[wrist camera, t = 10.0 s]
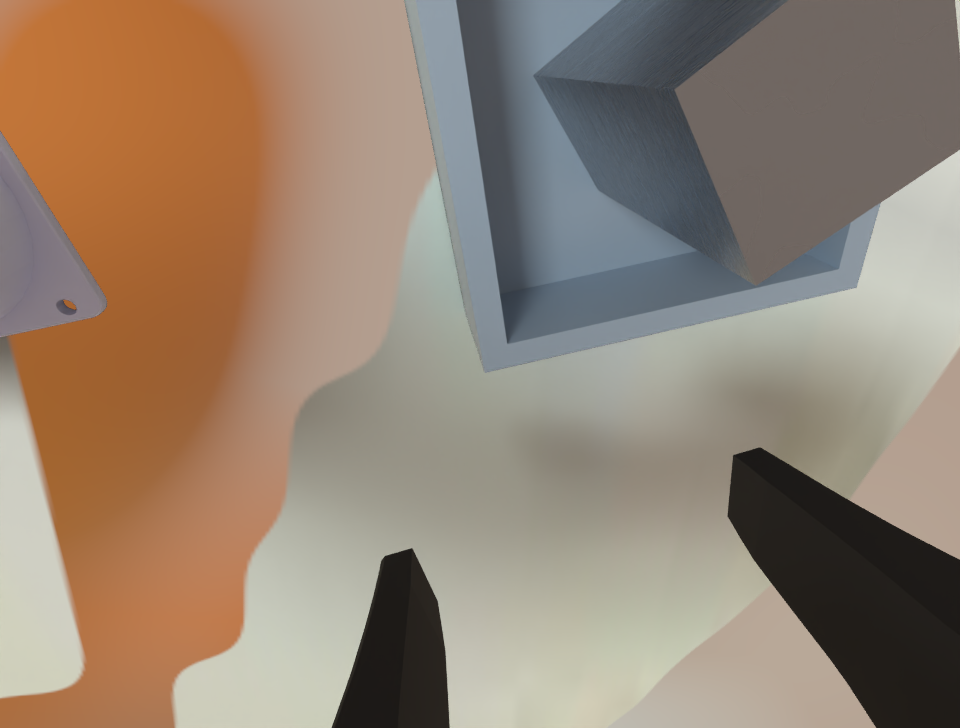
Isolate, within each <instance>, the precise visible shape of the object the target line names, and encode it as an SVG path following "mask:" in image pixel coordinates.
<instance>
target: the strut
mask: <svg viewBox="0 0 960 728" xmlns="http://www.w3.org/2000/svg"><path fill="white" fill-rule="evenodd" d="M533 76H534V78H535V80H536V82H537V83H538V85H539V87H540V89H541V91H542V92H543V94H544V96H545V98H546V99H547V101H548V103H549V105H550V106H551V108H552V110H553V112H554V113H555V115H556V117H557V119H558V120H559V122H560V124H561V126H562V128H563V129H564V131H565V133H566V135H567V136H568V138H569V140H570V142H571V143H572V145H573V147H574V149H575V150H576V152H577V154H578V156H579V157H580V159H581V161H582V163H583V165H584V166H585V168H586V170H587V172H588V173H589V175H590V177H591V179H592V180H593V182H594V184H595V186H596V187H597V189H598V191H600V192H602V193H603V194H605V195H607V196H608V197H610V198H611V199H613V200H615V201H616V202H618V203H620V204H621V205H623V206H625V207H626V208H628V209H630V210H631V211H633V212H635V213H636V214H638V215H640V216H641V217H643V218H645V219H646V220H648V221H650V222H651V223H653V224H655V225H656V226H658V227H660V228H661V229H663V230H664V231H666V232H668V233H669V234H671V235H673V236H674V237H676V238H678V239H679V240H681V241H683V242H684V243H686V244H688V245H689V246H691V247H693V248H694V249H696V250H698V251H699V252H701V253H703V254H704V255H706V256H708V257H709V258H711V259H713V260H714V261H716V262H717V263H719V264H721V265H722V266H724V267H726V268H727V269H729V270H731V271H732V272H734V273H736V274H737V275H739V276H741V277H742V278H744V279H746V280H747V281H749V282H751V283H752V284H754V285H756V286H757V285H758V284H760V283H761V282H763V281H764V280H765V279H767V278H768V277H770V276H771V275H773V274H774V273H776V272H777V271H779V270H780V269H782V268H783V267H785V266H786V265H788V264H789V263H791V262H792V261H794V260H795V259H797V258H798V257H800V256H801V255H803V254H804V253H806V252H807V251H809V250H810V249H812V248H813V247H815V246H816V245H818V244H819V243H821V242H822V241H824V240H825V239H827V238H828V237H830V236H831V235H833V234H834V233H836V232H837V231H839V230H840V229H842V228H843V227H845V226H846V225H848V224H849V223H851V222H852V221H854V220H855V219H857V218H858V217H860V216H861V215H863V214H864V213H866V212H867V211H869V210H870V209H872V208H873V207H875V206H876V205H878V204H879V203H881V202H882V201H884V200H885V199H887V198H888V197H890V196H891V195H893V194H894V193H896V192H897V191H899V190H900V189H902V188H903V187H905V186H906V185H908V184H909V183H911V182H912V181H914V180H915V179H916V178H918V177H919V176H921V175H922V174H924V173H925V172H927V171H928V170H930V169H931V168H933V167H934V166H936V165H937V164H939V163H940V162H942V161H943V160H945V159H946V158H948V157H949V156H951V155H952V154H954V153H955V152H957V151H958V150H960V52H959V41H958V30H957V19H956V8H955V0H621V1H620V2H619V3H618V4H617V5H615V6H614V7H613V8H612V9H611V10H610V11H608V12H607V13H606V14H605V15H604V16H602V17H601V18H600V19H599V20H598V21H597V22H595V23H594V24H593V25H592V26H591V27H589V28H588V29H587V30H586V31H585V32H584V33H582V34H581V35H580V36H579V37H578V38H576V39H575V40H574V41H573V42H572V43H571V44H569V45H568V46H567V47H566V48H565V49H563V50H562V51H561V52H560V53H559V54H558V55H556V56H555V57H554V58H553V59H552V60H550V61H549V62H548V63H547V64H546V65H545V66H543V67H542V68H541V69H540V70H539V71H537V72H536V73H535V74H534V75H533Z"/></svg>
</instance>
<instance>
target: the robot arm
mask: <svg viewBox="0 0 960 728" xmlns="http://www.w3.org/2000/svg"><path fill="white" fill-rule="evenodd" d="M63 300H68V301H71V302H72V303H73V304H74V305H75V306H76V309H77V310H73V309H71V308H68V307H67V306H66V305H65V304H64V301H63ZM106 307H107V300H106V297H105V295H104V293H103V292H102V291H101V289H100V287H99V285H98V284H97V282H96V281H95V279H94V278H93V276H92V275H91V273H90V271H89V270H88V268H87V267H86V265H85V263H84V262H83V260H82V259H81V257H80V256H79V254H78V253H77V251H76V249H75V248H74V246H73V244H72V243H71V241H70V240H69V238H68V237H67V235H66V233H65V232H64V230H63V229H62V227H61V226H60V224H59V222H58V221H57V219H56V218H55V216H54V215H53V213H52V211H51V210H50V208H49V207H48V205H47V203H46V202H45V201H44V199H43V197H42V196H41V194H40V192H39V191H38V189H37V188H36V186H35V185H34V183H33V181H32V180H31V178H30V177H29V175H28V174H27V172H26V170H25V169H24V167H23V166H22V164H21V162H20V161H19V159H18V158H17V156H16V155H15V153H14V151H13V150H12V148H11V147H10V145H9V144H8V142H7V140H6V139H5V137H4V136H3V134H2V133H1V131H0V337H4V336H9V335H13V334H18V333H23V332H27V331H32V330H37V329H41V328H46V327H51V326H56V325H60V324H65V323H69V322H74V321H79V320H84V319H88V318H93V317H96V316H98V315H100V314H101V313H102V312H103V311H104V310H105V308H106ZM728 518H729V519H730V521H731V523H732V525H733V526H734V528H735V530H736V531H737V533H738V535H739V536H740V538H741V540H742V542H743V543H744V545H745V546H746V548H747V550H748V551H749V553H750V554H751V556H752V558H753V559H754V561H755V562H756V563H757V565H758V566H759V567H760V569H761V570H762V571H763V573H764V574H765V575H766V577H767V578H768V579H769V581H770V582H771V583H772V584H773V586H774V587H775V588H776V590H777V591H778V592H779V594H780V595H781V596H782V598H783V599H784V600H785V601H786V603H787V604H788V605H789V606H790V608H791V609H792V611H793V612H794V613H795V614H796V616H797V617H798V618H799V619H800V621H801V622H802V623H803V625H804V626H805V627H806V629H807V630H808V631H809V632H810V634H811V635H812V636H813V638H814V639H815V640H816V642H817V643H818V644H819V645H820V647H821V648H822V649H823V650H824V652H825V653H826V655H827V656H828V657H829V658H830V660H831V661H832V662H833V664H834V665H835V667H836V668H837V669H838V671H839V672H840V674H841V675H842V676H843V678H844V679H845V681H846V682H847V683H848V685H849V686H850V688H851V689H852V691H853V693H854V694H855V696H856V697H857V699H858V700H859V702H860V703H861V705H862V706H863V708H864V710H865V711H866V713H867V714H868V716H869V717H870V719H871V720H872V722H873V723H874V725H875V726H876V728H960V560H959V559H957V558H955V557H953V556H951V555H949V554H947V553H945V552H943V551H941V550H939V549H937V548H936V547H934V546H932V545H930V544H928V543H926V542H924V541H922V540H920V539H918V538H916V537H914V536H912V535H910V534H908V533H906V532H905V531H903V530H901V529H899V528H897V527H896V526H894V525H892V524H890V523H888V522H886V521H885V520H883V519H881V518H879V517H877V516H876V515H874V514H872V513H870V512H869V511H867V510H865V509H863V508H861V507H860V506H858V505H856V504H854V503H853V502H851V501H849V500H848V499H846V498H844V497H842V496H841V495H839V494H837V493H836V492H834V491H832V490H830V489H829V488H827V487H825V486H824V485H822V484H820V483H819V482H817V481H815V480H814V479H812V478H810V477H809V476H807V475H805V474H804V473H802V472H800V471H799V470H797V469H795V468H794V467H792V466H790V465H789V464H787V463H785V462H784V461H782V460H780V459H779V458H777V457H775V456H774V455H772V454H770V453H769V452H767V451H765V450H764V449H762V448H756V449H753V450H749V451H746V452H743V453H739V454H736V455H733V464H732V474H731V485H730V496H729V506H728ZM332 728H450V727H449V708H448V689H447V671H446V655H445V646H444V639H443V632H442V626H441V619H440V613H439V607H438V601H437V599H436V597H435V595H434V593H433V590H432V588H431V586H430V584H429V582H428V580H427V578H426V576H425V574H424V572H423V570H422V567H421V565H420V563H419V561H418V559H417V557H416V555H415V553H414V551H413V549H412V548H411V549H408V550H404V551H401V552H398V553H394V554H391V555H387V556H385V557H384V558H383V559H382V561H381V565H380V570H379V575H378V579H377V583H376V588H375V592H374V596H373V600H372V603H371V607H370V611H369V615H368V618H367V622H366V625H365V629H364V632H363V636H362V639H361V642H360V645H359V649H358V652H357V655H356V658H355V662H354V665H353V668H352V671H351V674H350V677H349V680H348V683H347V686H346V689H345V692H344V695H343V697H342V700H341V703H340V706H339V709H338V711H337V714H336V717H335V720H334V723H333V726H332Z"/></svg>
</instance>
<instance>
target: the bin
mask: <svg viewBox="0 0 960 728" xmlns="http://www.w3.org/2000/svg"><path fill="white" fill-rule="evenodd" d="M620 1H621V0H404V2H405V7H406V12H407V17H408V22H409V27H410V32H411V37H412V42H413V47H414V53H415V57H416V63H417V68H418V73H419V78H420V83H421V88H422V93H423V99H424V104H425V108H426V114H427V119H428V124H429V129H430V134H431V139H432V145H433V150H434V155H435V160H436V165H437V170H438V175H439V180H440V185H441V191H442V196H443V201H444V206H445V211H446V216H447V221H448V226H449V231H450V237H451V242H452V247H453V252H454V257H455V262H456V267H457V272H458V277H459V283H460V288H461V293H462V298H463V303H464V308H465V313H466V317H467V320H468V323H469V326H470V329H471V332H472V335H473V338H474V341H475V344H476V347H477V350H478V353H479V356H480V360H481V363H482V366H483V369H484V372H485V373H486V372H490V371H494V370H499V369H503V368H507V367H512V366H516V365H521V364H525V363H529V362H534V361H538V360H542V359H547V358H551V357H555V356H560V355H564V354H569V353H573V352H577V351H582V350H586V349H590V348H595V347H599V346H603V345H608V344H612V343H617V342H621V341H625V340H630V339H634V338H638V337H643V336H647V335H652V334H656V333H660V332H665V331H669V330H673V329H678V328H682V327H686V326H691V325H695V324H700V323H704V322H708V321H713V320H717V319H721V318H726V317H730V316H734V315H739V314H743V313H748V312H752V311H756V310H761V309H765V308H769V307H774V306H778V305H782V304H787V303H791V302H796V301H800V300H804V299H809V298H813V297H817V296H822V295H826V294H831V293H835V292H839V291H844V290H848V289H852V288H856V287H857V284H858V280H859V277H860V273H861V270H862V266H863V263H864V259H865V256H866V252H867V249H868V245H869V242H870V238H871V235H872V231H873V228H874V224H875V221H876V217H877V214H878V210H879V207H880V203H879V204H878V205H876V206H875V207H873V208H872V209H870V210H869V211H867V212H866V213H864V214H863V215H861V216H860V217H858V218H857V219H855V220H854V221H852V222H851V223H849V224H848V225H846V226H845V227H843V228H842V229H840V230H839V231H837V232H836V233H834V234H833V235H831V236H830V237H828V238H827V239H825V240H824V241H822V242H821V243H819V244H818V245H816V246H815V247H813V248H812V249H810V250H809V251H807V252H806V253H804V254H803V255H801V256H800V257H798V258H797V259H795V260H794V261H792V262H791V263H789V264H788V265H786V266H785V267H783V268H782V269H780V270H779V271H777V272H776V273H774V274H773V275H771V276H770V277H768V278H767V279H765V280H764V281H763V282H761V283H760V284H758V285H757V286H756V285H754V284H752V283H751V282H749V281H747V280H746V279H744V278H742V277H741V276H739V275H737V274H736V273H734V272H732V271H731V270H729V269H727V268H726V267H724V266H722V265H721V264H719V263H717V262H716V261H714V260H713V259H711V258H709V257H708V256H706V255H704V254H703V253H701V252H699V251H698V250H696V249H694V248H693V247H691V246H689V245H688V244H686V243H684V242H683V241H681V240H679V239H678V238H676V237H674V236H673V235H671V234H669V233H668V232H666V231H664V230H663V229H661V228H660V227H658V226H656V225H655V224H653V223H651V222H650V221H648V220H646V219H645V218H643V217H641V216H640V215H638V214H636V213H635V212H633V211H631V210H630V209H628V208H626V207H625V206H623V205H621V204H620V203H618V202H616V201H615V200H613V199H611V198H610V197H608V196H607V195H605V194H603V193H602V192H600V191H598V189H597V187H596V186H595V184H594V182H593V180H592V179H591V177H590V175H589V173H588V172H587V170H586V168H585V166H584V165H583V163H582V161H581V159H580V157H579V156H578V154H577V152H576V150H575V149H574V147H573V145H572V143H571V142H570V140H569V138H568V136H567V135H566V133H565V131H564V129H563V128H562V126H561V124H560V122H559V120H558V119H557V117H556V115H555V113H554V112H553V110H552V108H551V106H550V105H549V103H548V101H547V99H546V98H545V96H544V94H543V92H542V91H541V89H540V87H539V85H538V83H537V82H536V80H535V78H534V76H533V75H534V74H535V73H536V72H537V71H539V70H540V69H541V68H542V67H543V66H545V65H546V64H547V63H548V62H549V61H550V60H552V59H553V58H554V57H555V56H556V55H558V54H559V53H560V52H561V51H562V50H563V49H565V48H566V47H567V46H568V45H569V44H571V43H572V42H573V41H574V40H575V39H576V38H578V37H579V36H580V35H581V34H582V33H584V32H585V31H586V30H587V29H588V28H589V27H591V26H592V25H593V24H594V23H595V22H597V21H598V20H599V19H600V18H601V17H602V16H604V15H605V14H606V13H607V12H608V11H610V10H611V9H612V8H613V7H614V6H615V5H617V4H618V3H619V2H620Z"/></svg>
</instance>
